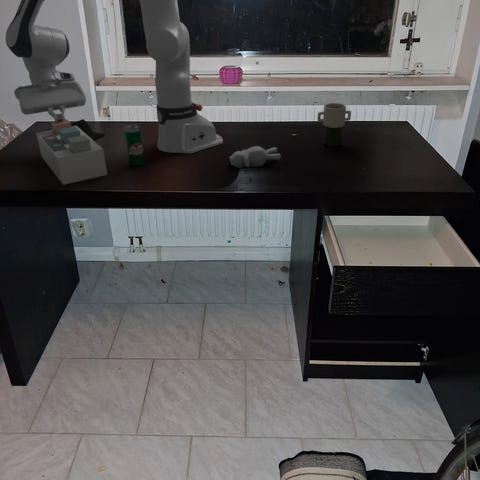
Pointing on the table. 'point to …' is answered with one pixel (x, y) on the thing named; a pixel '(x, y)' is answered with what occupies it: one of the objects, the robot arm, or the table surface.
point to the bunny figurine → (253, 157)
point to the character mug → (333, 122)
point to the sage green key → (79, 144)
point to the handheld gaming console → (87, 129)
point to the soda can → (134, 145)
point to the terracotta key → (60, 126)
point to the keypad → (71, 158)
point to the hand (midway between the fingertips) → (60, 120)
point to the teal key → (68, 134)
